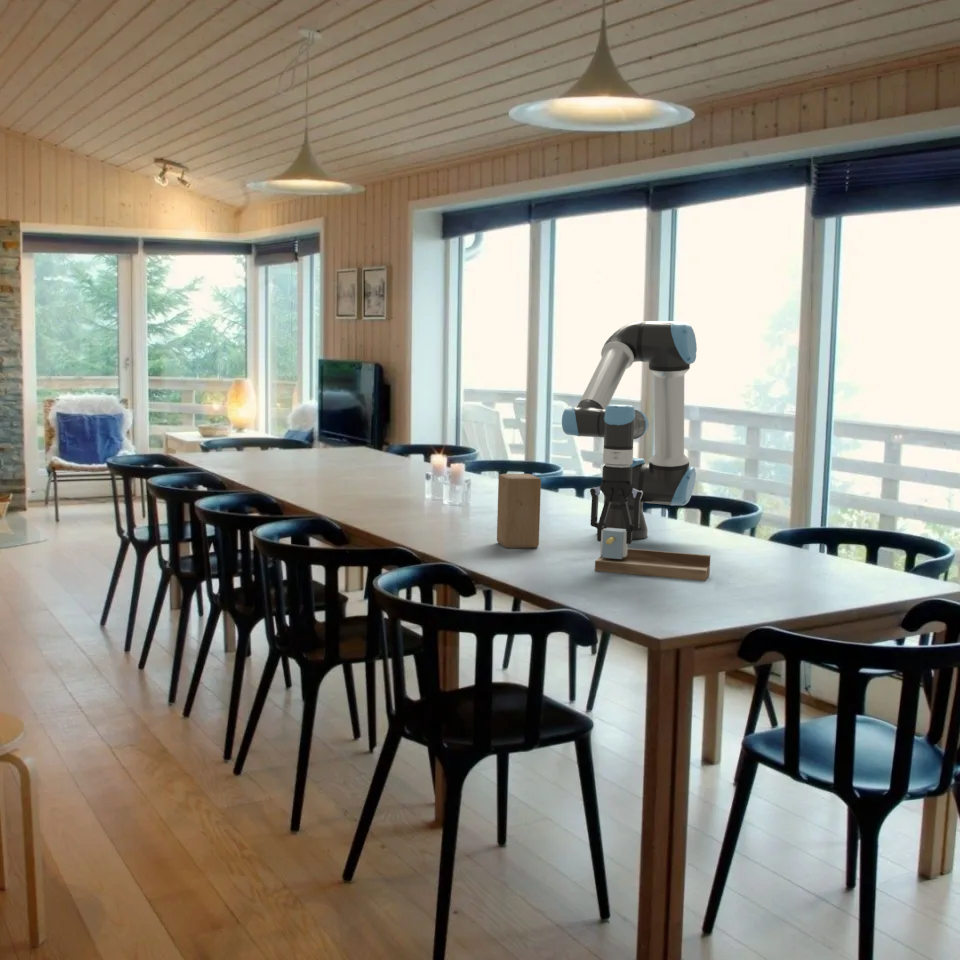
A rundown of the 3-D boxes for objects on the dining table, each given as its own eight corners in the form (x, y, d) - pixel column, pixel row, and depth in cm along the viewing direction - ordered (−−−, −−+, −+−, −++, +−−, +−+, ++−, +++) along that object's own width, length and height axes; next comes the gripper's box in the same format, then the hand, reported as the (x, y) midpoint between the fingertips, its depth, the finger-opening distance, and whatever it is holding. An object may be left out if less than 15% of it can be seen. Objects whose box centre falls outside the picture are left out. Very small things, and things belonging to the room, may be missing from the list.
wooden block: (505, 549, 318) (507, 478, 315) (495, 542, 327) (497, 473, 325) (539, 548, 321) (542, 477, 318) (528, 541, 330) (531, 473, 328)
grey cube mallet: (606, 554, 297) (607, 527, 296) (625, 555, 295) (626, 529, 294) (597, 560, 287) (598, 533, 286) (617, 562, 286) (618, 534, 285)
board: (601, 564, 299) (602, 546, 299) (709, 574, 291) (710, 555, 290) (594, 570, 292) (595, 551, 291) (705, 580, 283) (706, 560, 282)
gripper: (579, 464, 290) (576, 554, 293) (650, 469, 284) (646, 560, 287) (586, 461, 297) (583, 549, 300) (655, 465, 291) (651, 555, 294)
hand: (613, 555), depth 294 cm, fingers closed on grey cube mallet, 5 cm apart
